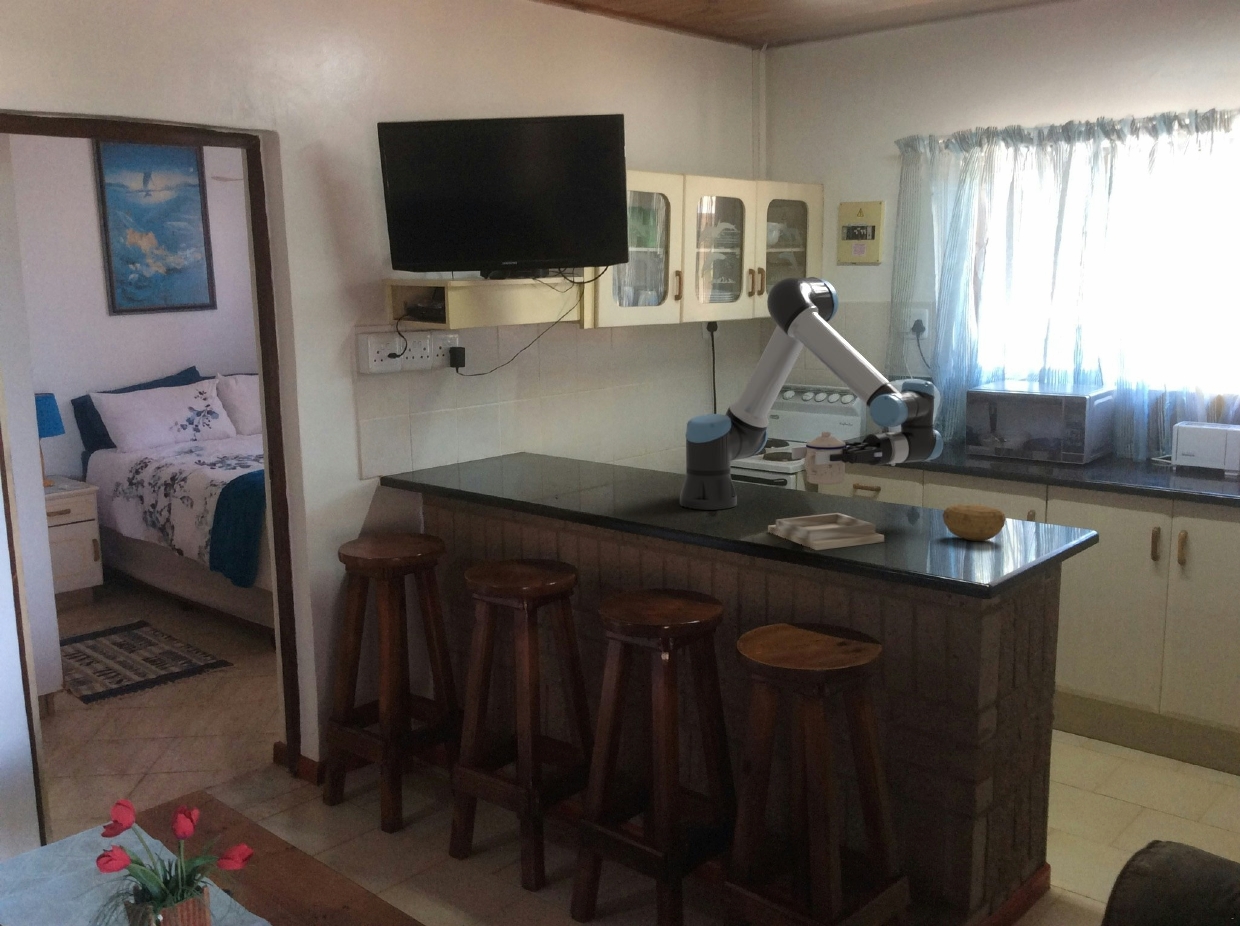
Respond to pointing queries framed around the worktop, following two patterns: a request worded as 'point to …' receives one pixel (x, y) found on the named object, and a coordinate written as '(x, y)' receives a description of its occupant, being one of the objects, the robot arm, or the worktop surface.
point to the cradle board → (826, 531)
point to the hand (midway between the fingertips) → (804, 455)
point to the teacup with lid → (824, 472)
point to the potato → (974, 521)
